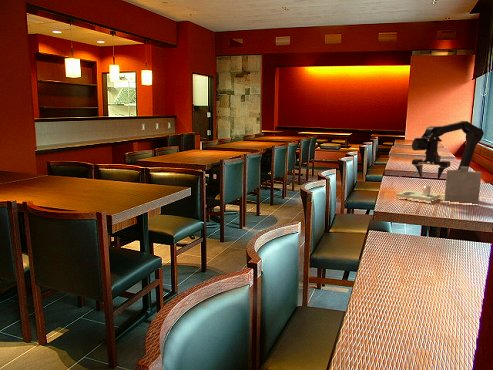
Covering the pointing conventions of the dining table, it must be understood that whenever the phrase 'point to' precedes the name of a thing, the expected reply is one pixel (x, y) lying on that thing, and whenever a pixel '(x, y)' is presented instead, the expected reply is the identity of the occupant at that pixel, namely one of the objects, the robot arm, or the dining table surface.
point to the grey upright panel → (462, 186)
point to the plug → (426, 191)
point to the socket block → (418, 195)
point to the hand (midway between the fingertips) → (429, 178)
